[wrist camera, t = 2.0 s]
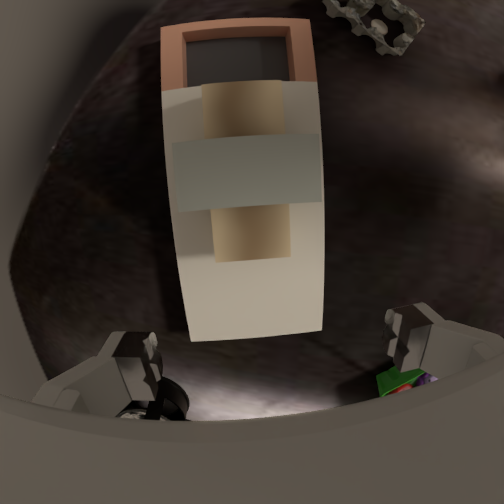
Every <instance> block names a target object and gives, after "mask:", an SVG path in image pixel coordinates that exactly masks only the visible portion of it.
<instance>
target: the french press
mask: <svg viewBox="0 0 504 504" xmlns="http://www.w3.org/2000/svg"><path fill="white" fill-rule="evenodd" d="M157 384H158V387H159V388H158V391H157V395H156V398H155V401H149V404H148V407H147V408H141V407H140V406H139V405H138V404H137V402H136V401H135V400H131V402H130V403H129V404H128V405H127V406H126V407H125V408H124V409H123V410H122V412H121V413H118V414H117V415H116V416H115V417H120V418H130V419H143V420H162V421H191V420H187V419H186V414H187V411H188V409H189V398H188V395H187V394H186V392H185V391H184V390H183V389H182V388H181V387H180V386H179V385H178V384H177V383H175V382H174V381H172V380H170V379H168V378H165V377H163V376H162V377H161V379H160V380H159V381H158V382H157ZM165 398H166V399H168V400H170V401H171V402H173V403H174V404H175V405H176V406H177V407H178V408H179V409H178V410H177V411H176V412H174V413H173V414H169V415H164V414H162V409H163V405H164V400H165Z"/></svg>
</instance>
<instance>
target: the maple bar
mask: <svg viewBox="0 0 504 504" xmlns="http://www.w3.org/2000/svg"><path fill="white" fill-rule="evenodd" d="M201 88H202V106H203V123H204V138H205V139H213V138H225V137H238V136H254V135H276V134H285V121H284V107H283V94H282V82H281V80H256V81H236V82H222V83H211V84H202V85H201ZM210 212H211V223H212V233H213V243H214V252H215V262H216V263H219V262H232V261H245V260H258V259H270V258H282V257H291V244H290V214H289V204H273V205H258V206H244V207H231V208H219V209H210Z"/></svg>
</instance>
